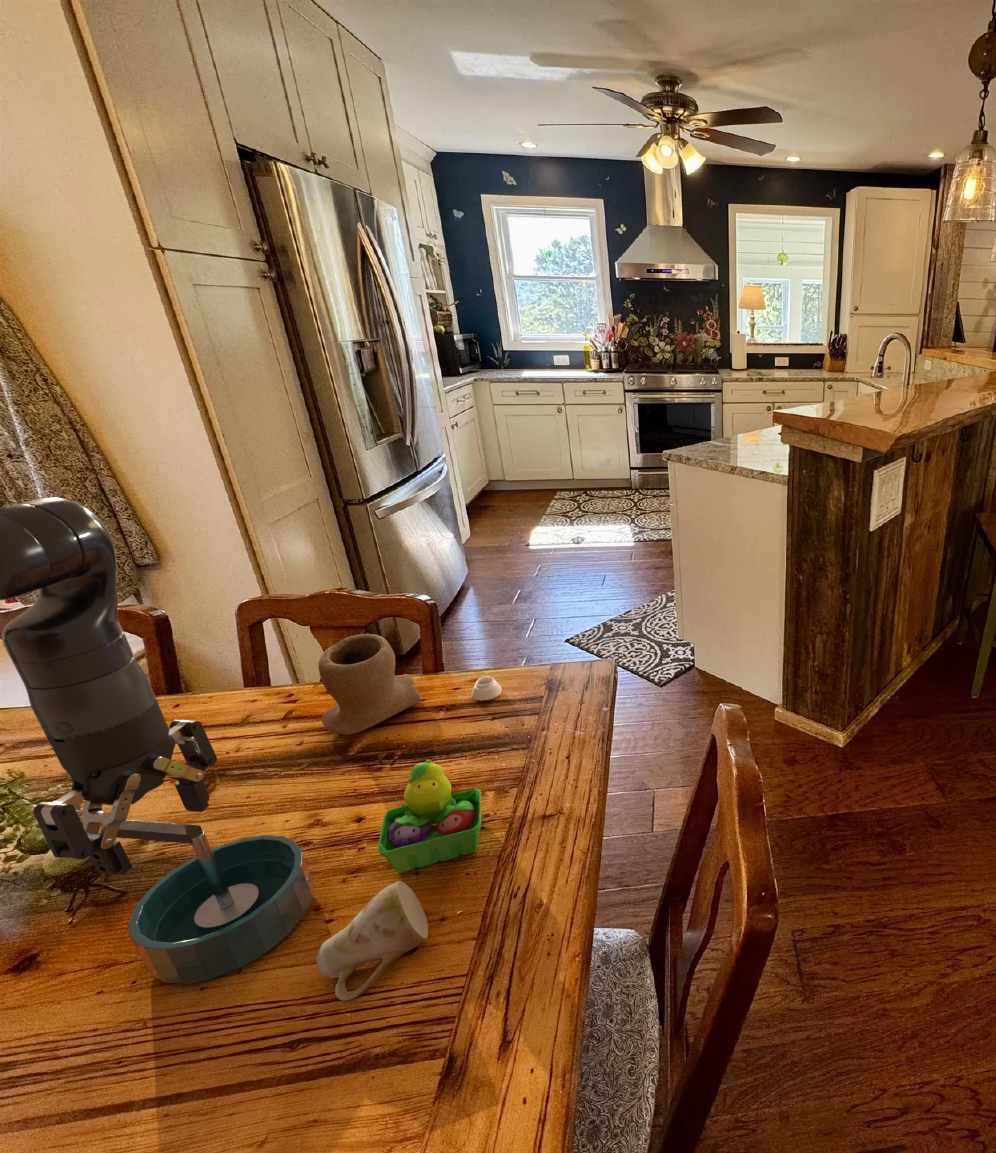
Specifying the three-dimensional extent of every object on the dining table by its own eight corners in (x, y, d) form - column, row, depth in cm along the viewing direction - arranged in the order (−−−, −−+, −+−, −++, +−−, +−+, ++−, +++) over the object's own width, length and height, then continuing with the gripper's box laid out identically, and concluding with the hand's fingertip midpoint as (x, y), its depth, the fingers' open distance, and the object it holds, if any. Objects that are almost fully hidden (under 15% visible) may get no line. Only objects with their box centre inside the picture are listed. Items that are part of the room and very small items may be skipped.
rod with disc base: (277, 900, 71) (243, 812, 66) (235, 945, 66) (194, 853, 61) (182, 891, 72) (141, 804, 67) (133, 935, 67) (84, 844, 62)
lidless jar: (490, 704, 109) (507, 689, 114) (487, 690, 108) (505, 676, 113) (466, 700, 110) (484, 685, 115) (463, 686, 109) (481, 672, 114)
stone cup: (349, 751, 97) (325, 669, 91) (315, 724, 103) (290, 646, 97) (441, 706, 108) (425, 631, 103) (406, 684, 114) (389, 612, 109)
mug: (313, 958, 66) (345, 867, 66) (412, 956, 71) (441, 871, 71) (302, 1007, 59) (337, 906, 60) (412, 1001, 64) (444, 908, 65)
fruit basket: (385, 885, 74) (363, 814, 70) (393, 833, 82) (375, 765, 77) (487, 857, 78) (473, 787, 74) (486, 810, 86) (473, 744, 82)
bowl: (110, 982, 63) (86, 941, 60) (233, 867, 76) (218, 830, 74) (242, 995, 62) (224, 954, 60) (343, 876, 75) (331, 839, 73)
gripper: (140, 668, 65) (191, 788, 71) (-32, 755, 52) (50, 893, 58) (206, 672, 65) (252, 793, 71) (50, 761, 51) (123, 900, 58)
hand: (161, 838), depth 64 cm, fingers open, 8 cm apart
